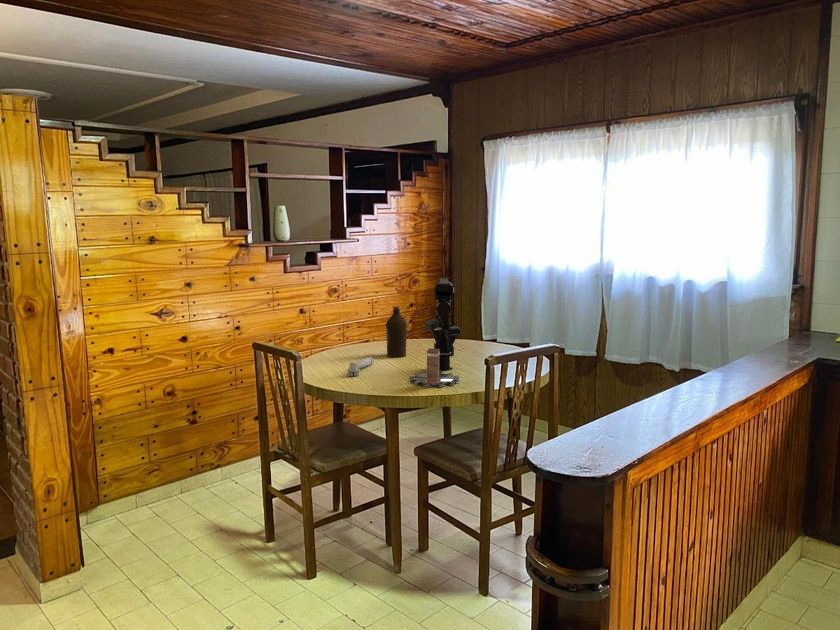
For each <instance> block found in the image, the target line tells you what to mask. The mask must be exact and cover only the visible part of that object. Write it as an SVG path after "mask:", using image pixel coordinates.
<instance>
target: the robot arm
mask: <svg viewBox="0 0 840 630" xmlns="http://www.w3.org/2000/svg"><path fill="white" fill-rule="evenodd" d="M453 299H455V288H454V285H453V283H452V282H451V281H450V278H449V277H438V281H437V282H436V283H435V284H434V300H436V314H434V317H433V318H431V319H429V320H427V321H425V322H424V326H425V329H426V330H427V331H429V332H430V333H431V334H432V335H433V338H434V343H433V349H440V354H439V371H440V370H442V371H445V370H444V369H449V370H452V369H451V368H452V367H451V359H450V358H451V357H454V356H455V346H454V343H455V341H456V340H457V338H458V336H460V335H461V334H462V330H461V328H460V327H458V326H453V323H451V318H453V314H451V312H452V311H451V310H452V307H451V301H453Z"/></svg>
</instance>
